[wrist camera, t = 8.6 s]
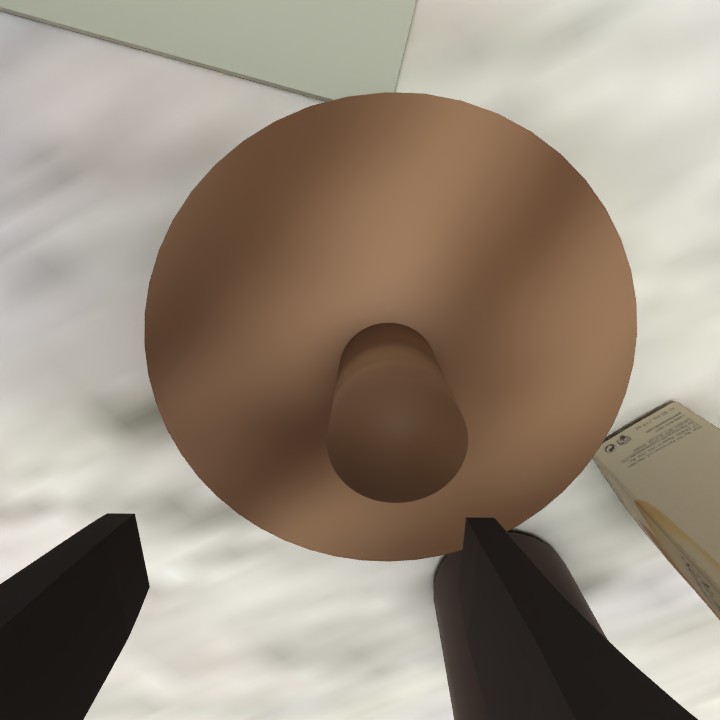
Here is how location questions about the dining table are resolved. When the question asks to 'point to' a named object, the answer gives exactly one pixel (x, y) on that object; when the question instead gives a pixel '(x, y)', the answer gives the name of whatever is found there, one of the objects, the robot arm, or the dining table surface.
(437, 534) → the lid
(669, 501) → the skincare box
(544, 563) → the bottle
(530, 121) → the dining table surface
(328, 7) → the mat
